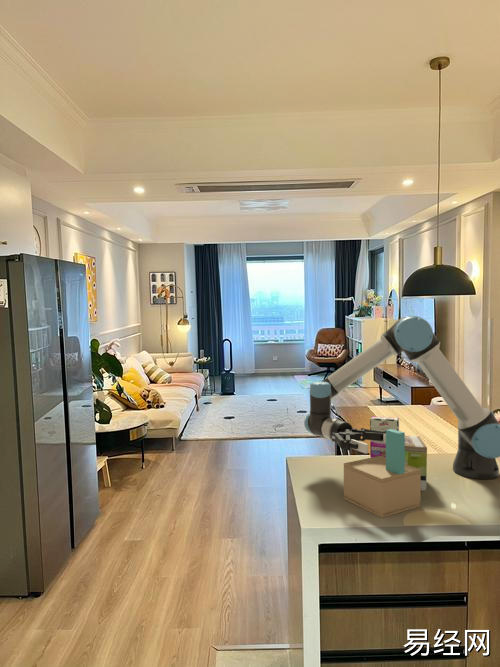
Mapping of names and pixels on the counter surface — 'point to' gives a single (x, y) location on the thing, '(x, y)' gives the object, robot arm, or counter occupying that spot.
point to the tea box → (417, 456)
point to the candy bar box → (382, 425)
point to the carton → (382, 493)
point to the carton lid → (386, 460)
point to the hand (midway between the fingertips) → (383, 445)
